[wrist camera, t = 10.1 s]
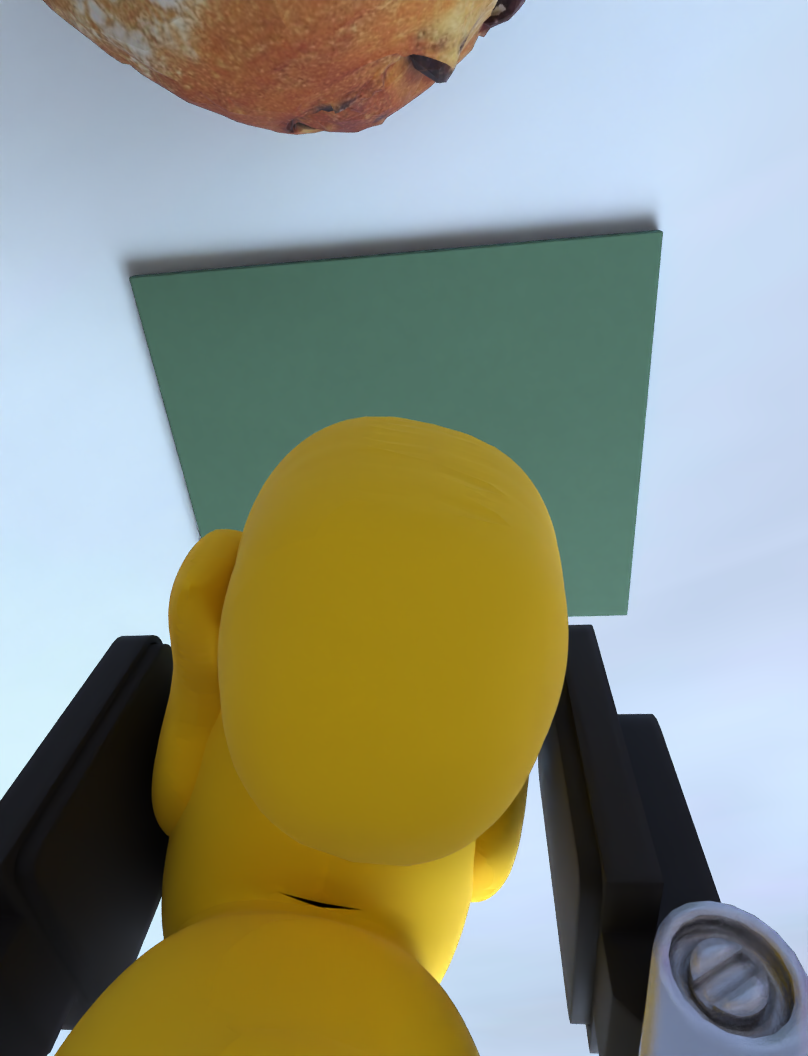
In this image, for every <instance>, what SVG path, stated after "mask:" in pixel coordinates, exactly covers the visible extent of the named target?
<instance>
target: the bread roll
mask: <svg viewBox="0 0 808 1056" xmlns="http://www.w3.org/2000/svg"><path fill="white" fill-rule="evenodd" d="M43 1H44V2H45V3H46V4H47V5H48V6H49V7H50V8H51V9H52V10H53V11H54V12H55V13H57V14H58V15H59V16H60V17H62V18H63V19H64V20H65V21H67V22H68V23H69V24H71V25H72V26H73V27H74V28H76V29H77V30H78V31H80V32H81V33H82V34H84V35H85V36H86V37H87V38H89V39H90V40H91V41H93V42H94V43H95V44H96V45H98V46H99V47H100V48H101V49H102V50H104V51H105V52H106V53H107V54H109V55H110V56H112V57H113V58H115V59H116V60H118V61H119V62H121V63H124V64H129V65H131V66H132V67H133V68H135V69H136V70H137V71H138V72H140V73H141V74H142V75H144V76H146V77H147V78H149V79H150V80H152V81H154V82H155V83H157V84H159V85H160V86H162V87H164V88H165V89H167V90H168V91H170V92H172V93H173V94H175V95H177V96H178V97H180V98H181V99H183V100H185V101H186V102H188V103H191V104H194V105H196V106H199V107H202V108H204V109H207V110H210V111H213V112H215V113H218V114H221V115H223V116H225V117H228V118H230V119H232V120H234V121H236V122H240V123H243V124H247V125H251V126H255V127H260V128H264V129H269V130H272V131H275V132H279V133H287V134H295V135H298V134H307V133H316V132H320V131H328V132H359V131H361V130H364V129H366V128H369V127H372V126H376V125H380V124H382V123H383V122H384V120H385V119H386V118H387V117H388V116H390V115H391V114H393V113H394V112H396V111H398V110H399V109H401V108H402V107H403V106H405V105H406V104H408V103H409V102H410V101H412V100H413V99H415V98H416V97H417V96H419V95H420V94H421V93H423V92H424V91H425V90H427V89H428V88H429V87H431V86H432V85H433V84H434V83H435V82H436V83H442V82H447V80H448V79H449V77H450V75H451V74H452V72H453V71H454V69H455V67H456V65H457V64H458V63H459V62H460V61H461V60H462V59H463V58H464V57H465V56H466V55H467V54H468V53H469V52H470V51H471V50H472V49H473V47H474V44H475V42H476V40H477V38H478V36H482V37H484V36H485V35H486V33H487V32H488V31H489V29H490V28H491V27H494V26H496V25H498V24H501V23H503V22H505V21H508V20H509V19H510V18H511V17H512V16H513V15H514V14H515V13H516V12H517V11H518V10H519V9H520V7H521V6H522V5H523V4H524V2H525V0H43Z"/></svg>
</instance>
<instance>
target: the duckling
mask: <svg viewBox="0 0 808 1056" xmlns="http://www.w3.org/2000/svg"><path fill="white" fill-rule="evenodd" d="M168 620H169V632H170V640H171V648H172V657H173V675H172V683H171V689H170V695H169V699H168V704H167V708H166V712H165V716H164V719H163V723H162V728H161V732H160V736H159V741H158V746H157V751H156V756H155V762H154V768H153V777H152V805H153V810H154V814H155V817H156V820H157V822H158V824H159V826H160V827H161V829H162V830H163V831H164V833H165V834H166V835H168V836H169V842H168V847H167V853H166V859H165V865H164V873H163V884H162V927H163V936H164V940H163V941H161V942H160V943H158V944H157V945H155V946H154V947H152V948H151V949H150V950H148V951H147V952H146V953H144V954H143V955H142V956H141V957H140V958H138V959H137V960H136V961H135V962H134V963H133V964H131V965H130V966H129V967H128V968H127V969H126V970H125V971H124V972H123V973H122V974H121V975H120V976H119V977H118V978H117V979H116V980H115V981H114V982H113V983H112V984H111V985H110V986H109V987H108V988H107V989H106V990H105V991H104V992H103V993H102V994H101V995H100V997H99V998H98V999H97V1000H96V1001H95V1002H94V1003H93V1005H92V1006H91V1007H90V1008H89V1009H88V1011H87V1012H86V1013H85V1014H84V1015H83V1017H82V1018H81V1019H80V1021H79V1022H78V1023H77V1024H76V1026H75V1027H74V1028H73V1030H72V1031H71V1033H70V1034H69V1035H68V1037H67V1038H66V1039H65V1041H64V1042H63V1044H62V1045H61V1047H60V1048H59V1050H58V1051H57V1052H56V1054H55V1055H54V1056H480V1055H479V1053H478V1050H477V1048H476V1046H475V1043H474V1041H473V1039H472V1037H471V1035H470V1033H469V1031H468V1029H467V1027H466V1025H465V1023H464V1021H463V1019H462V1017H461V1015H460V1014H459V1012H458V1010H457V1009H456V1007H455V1005H454V1004H453V1002H452V1001H451V999H450V998H449V996H448V995H447V993H446V992H445V991H444V989H443V988H442V987H441V985H440V982H441V980H442V979H443V977H444V975H445V973H446V971H447V969H448V967H449V964H450V962H451V960H452V957H453V955H454V952H455V950H456V947H457V945H458V942H459V939H460V936H461V933H462V930H463V927H464V924H465V920H466V916H467V913H468V909H469V905H470V902H480V901H483V900H486V899H488V898H490V897H491V896H493V895H494V894H495V893H496V892H497V891H498V890H499V889H500V888H501V887H502V885H503V884H504V882H505V881H506V879H507V877H508V876H509V873H510V871H511V869H512V866H513V863H514V860H515V857H516V854H517V850H518V846H519V842H520V837H521V831H522V825H523V819H524V813H525V806H526V797H527V788H528V779H529V774H530V772H531V769H532V767H533V765H534V763H535V761H536V759H537V757H538V754H539V752H540V749H541V747H542V744H543V742H544V739H545V737H546V735H547V733H548V730H549V728H550V725H551V722H552V720H553V717H554V714H555V712H556V709H557V705H558V702H559V699H560V695H561V691H562V687H563V682H564V677H565V672H566V665H567V656H568V613H567V603H566V595H565V588H564V580H563V572H562V566H561V560H560V555H559V550H558V545H557V540H556V535H555V531H554V527H553V524H552V521H551V518H550V516H549V513H548V510H547V508H546V506H545V504H544V501H543V500H542V498H541V496H540V494H539V492H538V490H537V489H536V487H535V485H534V484H533V483H532V481H531V480H530V478H529V477H528V476H527V475H526V473H525V472H524V471H523V470H522V469H521V468H520V467H519V466H518V465H517V464H516V463H515V462H514V461H513V460H512V459H511V458H510V457H508V456H507V455H505V454H504V453H502V452H501V451H500V450H498V449H497V448H495V447H494V446H492V445H489V444H487V443H485V442H483V441H481V440H479V439H477V438H475V437H473V436H471V435H468V434H465V433H462V432H459V431H455V430H452V429H448V428H445V427H441V426H438V425H435V424H430V423H425V422H420V421H415V420H410V419H405V418H399V417H359V418H354V419H348V420H345V421H341V422H338V423H335V424H333V425H330V426H328V427H326V428H323V429H322V430H320V431H318V432H316V433H314V434H313V435H311V436H309V437H308V438H306V439H305V440H304V441H302V442H301V443H300V444H298V445H297V446H296V447H295V448H294V449H293V450H291V451H290V452H289V453H288V454H287V455H286V456H285V457H284V459H283V460H282V461H281V462H280V463H279V464H278V465H277V467H276V468H275V469H274V470H273V472H272V473H271V475H270V476H269V477H268V479H267V480H266V482H265V484H264V485H263V487H262V489H261V490H260V492H259V494H258V496H257V498H256V500H255V502H254V504H253V506H252V508H251V511H250V513H249V516H248V518H247V521H246V524H245V527H244V530H243V532H241V531H238V530H231V529H217V530H214V531H212V532H210V533H208V534H206V535H205V536H204V537H203V538H201V539H200V540H199V541H198V542H197V543H196V544H195V545H194V547H193V548H192V549H191V550H190V552H189V553H188V555H187V556H186V558H185V560H184V561H183V563H182V565H181V567H180V569H179V571H178V573H177V576H176V578H175V581H174V584H173V587H172V591H171V595H170V601H169V611H168Z"/></svg>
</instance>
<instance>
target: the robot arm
mask: <svg viewBox="0 0 808 1056" xmlns="http://www.w3.org/2000/svg"><path fill="white" fill-rule="evenodd" d="M172 675H173V657H172V648H171V647H170V646H169V645H168V644H163V643H162V641H161V639H160V638H159V637H158V636H154V635H145V636H121V637H118V638H117V639H116V640H115V641H114V642H113V643H112V645H111V646H110V648H109V649H108V651H107V652H106V653H105V655H104V656H103V658H102V659H101V660H100V662H99V663H98V665H97V666H96V667H95V669H94V670H93V672H92V673H91V674H90V676H89V677H88V679H87V680H86V681H85V683H84V684H83V686H82V687H81V688H80V690H79V691H78V693H77V694H76V695H75V697H74V698H73V700H72V701H71V702H70V704H69V705H68V707H67V708H66V709H65V711H64V712H63V714H62V715H61V716H60V718H59V719H58V721H57V722H56V723H55V725H54V726H53V728H52V729H51V730H50V732H49V733H48V735H47V736H46V737H45V739H44V740H43V742H42V743H41V745H40V746H39V747H38V749H37V750H36V752H35V753H34V754H33V756H32V757H31V759H30V760H29V761H28V763H27V764H26V766H25V767H24V768H23V770H22V771H21V773H20V774H19V775H18V777H17V778H16V780H15V781H14V782H13V784H12V785H11V787H10V788H9V789H8V791H7V792H6V794H5V795H4V796H3V798H2V799H1V801H0V1056H47V1054H49V1053H50V1052H51V1050H52V1048H53V1046H54V1043H55V1041H56V1039H57V1037H58V1035H59V1032H60V1030H61V1029H63V1030H73V1028H74V1027H75V1026H76V1024H77V1023H78V1022H79V1021H80V1019H81V1018H82V1017H83V1015H84V1014H85V1013H86V1012H87V1011H88V1009H89V1008H90V1007H91V1006H92V1005H93V1003H94V1002H95V1001H96V1000H97V999H98V998H99V997H100V995H101V994H102V993H103V992H104V991H105V990H106V989H107V988H108V987H109V986H110V985H111V984H112V983H113V982H114V981H115V980H116V979H117V978H118V977H119V976H120V975H121V974H122V973H123V972H124V971H125V970H126V969H127V968H128V967H129V966H130V965H131V964H133V963H134V962H135V961H136V959H137V956H138V954H139V951H140V949H141V947H142V944H143V942H144V939H145V937H146V934H147V932H148V929H149V927H150V924H151V922H152V919H153V917H154V914H155V912H156V909H157V907H158V904H159V902H160V899H161V897H162V884H163V873H164V865H165V859H166V853H167V847H168V842H169V836H168V835H166V834H165V833H164V831H163V830H162V829H161V827H160V826H159V824H158V822H157V820H156V817H155V814H154V810H153V805H152V777H153V768H154V762H155V756H156V751H157V746H158V741H159V736H160V732H161V728H162V723H163V719H164V716H165V712H166V708H167V704H168V699H169V695H170V689H171V683H172ZM538 768H539V781H540V790H541V798H542V806H543V814H544V822H545V830H546V838H547V846H548V854H549V863H550V871H551V879H552V887H553V895H554V903H555V911H556V919H557V927H558V935H559V943H560V951H561V959H562V967H563V976H564V984H565V992H566V1000H567V1008H568V1014H569V1020H570V1023H571V1024H586V1029H587V1036H588V1043H589V1050H590V1053H599V1056H808V976H807V975H806V973H805V971H804V969H803V967H802V965H801V963H800V962H799V960H798V958H797V956H796V954H795V952H794V951H793V950H792V949H791V948H790V947H789V946H788V945H787V943H786V942H785V941H784V940H783V939H782V938H781V937H780V935H779V934H778V933H777V932H776V931H775V930H773V929H772V928H771V927H769V926H768V925H767V924H765V923H764V922H763V921H761V920H760V919H759V918H757V917H756V916H755V915H752V914H750V913H748V912H746V911H744V910H741V909H739V908H737V907H735V906H733V905H729V904H724V903H721V901H720V898H719V896H718V893H717V890H716V887H715V884H714V881H713V878H712V875H711V873H710V870H709V867H708V864H707V861H706V858H705V855H704V852H703V849H702V847H701V844H700V841H699V838H698V835H697V832H696V829H695V826H694V823H693V821H692V818H691V815H690V812H689V809H688V806H687V803H686V800H685V797H684V795H683V792H682V789H681V786H680V783H679V780H678V777H677V774H676V772H675V769H674V766H673V763H672V760H671V757H670V754H669V751H668V748H667V746H666V743H665V740H664V737H663V734H662V731H661V728H660V726H659V724H658V721H657V719H656V718H655V716H654V715H653V714H617V711H616V708H615V704H614V701H613V697H612V693H611V690H610V686H609V683H608V679H607V675H606V672H605V668H604V665H603V661H602V657H601V654H600V650H599V647H598V643H597V639H596V636H595V632H594V629H593V626H592V625H568V656H567V665H566V672H565V677H564V682H563V687H562V691H561V695H560V699H559V702H558V705H557V709H556V712H555V714H554V717H553V720H552V722H551V725H550V728H549V730H548V733H547V735H546V737H545V739H544V742H543V744H542V747H541V749H540V752H539V754H538Z"/></svg>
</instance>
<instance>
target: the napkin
mask: <svg viewBox="0 0 808 1056" xmlns="http://www.w3.org/2000/svg"><path fill="white" fill-rule="evenodd" d="M662 236H663V232H662V231H660V230H653V231H642V232H630V233H619V234H607V235H596V236H584V237H573V238H561V239H550V240H538V241H527V242H515V243H504V244H493V245H481V246H470V247H458V248H447V249H435V250H424V251H412V252H401V253H389V254H378V255H366V256H355V257H343V258H332V259H320V260H309V261H297V262H286V263H274V264H263V265H251V266H240V267H228V268H217V269H205V270H194V271H182V272H171V273H159V274H148V275H136V276H132V277H130V283H131V286H132V290H133V293H134V297H135V301H136V304H137V308H138V311H139V315H140V319H141V322H142V326H143V330H144V333H145V337H146V340H147V344H148V348H149V351H150V355H151V358H152V362H153V366H154V369H155V373H156V376H157V380H158V384H159V387H160V391H161V395H162V398H163V402H164V405H165V409H166V413H167V416H168V420H169V423H170V427H171V431H172V434H173V438H174V442H175V445H176V449H177V452H178V456H179V460H180V463H181V467H182V470H183V474H184V478H185V481H186V485H187V488H188V492H189V496H190V499H191V503H192V507H193V510H194V514H195V517H196V521H197V525H198V528H199V532H200V535H201V538H203V537H204V536H205V535H206V534H208V533H210V532H212V531H214V530H217V529H231V530H238V531H241V532H243V530H244V527H245V524H246V521H247V518H248V516H249V513H250V511H251V508H252V506H253V504H254V502H255V500H256V498H257V496H258V494H259V492H260V490H261V489H262V487H263V485H264V484H265V482H266V480H267V479H268V477H269V476H270V475H271V473H272V472H273V470H274V469H275V468H276V467H277V465H278V464H279V463H280V462H281V461H282V460H283V459H284V457H285V456H286V455H287V454H288V453H289V452H290V451H291V450H293V449H294V448H295V447H296V446H297V445H298V444H300V443H301V442H302V441H304V440H305V439H306V438H308V437H309V436H311V435H313V434H314V433H316V432H318V431H320V430H322V429H323V428H326V427H328V426H330V425H333V424H335V423H338V422H341V421H345V420H348V419H354V418H359V417H399V418H405V419H410V420H415V421H420V422H425V423H430V424H435V425H438V426H441V427H445V428H448V429H452V430H455V431H459V432H462V433H465V434H468V435H471V436H473V437H475V438H477V439H479V440H481V441H483V442H485V443H487V444H489V445H492V446H494V447H495V448H497V449H498V450H500V451H501V452H502V453H504V454H505V455H507V456H508V457H510V458H511V459H512V460H513V461H514V462H515V463H516V464H517V465H518V466H519V467H520V468H521V469H522V470H523V471H524V472H525V473H526V475H527V476H528V477H529V478H530V480H531V481H532V483H533V484H534V485H535V487H536V489H537V490H538V492H539V494H540V496H541V498H542V500H543V501H544V504H545V506H546V508H547V510H548V513H549V516H550V518H551V521H552V524H553V527H554V531H555V535H556V540H557V545H558V550H559V555H560V560H561V566H562V572H563V580H564V588H565V595H566V603H567V613H568V617H570V616H609V615H627V610H628V599H629V588H630V578H631V567H632V556H633V546H634V535H635V524H636V514H637V503H638V492H639V482H640V471H641V460H642V450H643V439H644V428H645V418H646V407H647V396H648V386H649V375H650V364H651V353H652V343H653V332H654V321H655V311H656V300H657V289H658V279H659V268H660V257H661V247H662Z"/></svg>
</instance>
